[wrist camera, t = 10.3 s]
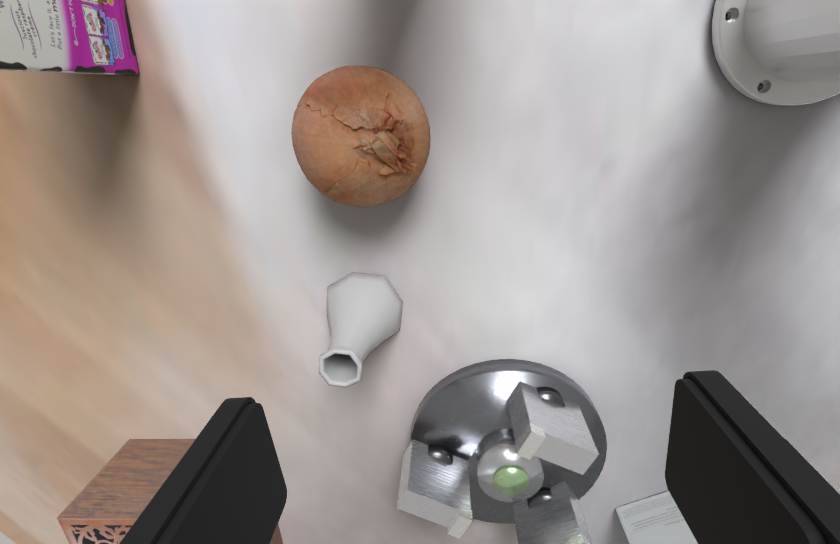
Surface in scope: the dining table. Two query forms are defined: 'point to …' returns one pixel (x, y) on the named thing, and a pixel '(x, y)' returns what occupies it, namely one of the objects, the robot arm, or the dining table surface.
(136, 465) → the tissue box cover
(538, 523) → the knob
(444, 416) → the levelling plate
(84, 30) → the candy bar box
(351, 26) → the dining table surface
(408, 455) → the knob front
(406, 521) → the dining table surface
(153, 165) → the dining table surface
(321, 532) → the dining table surface
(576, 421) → the knob
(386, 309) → the flask
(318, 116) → the onion
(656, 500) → the supplement box
